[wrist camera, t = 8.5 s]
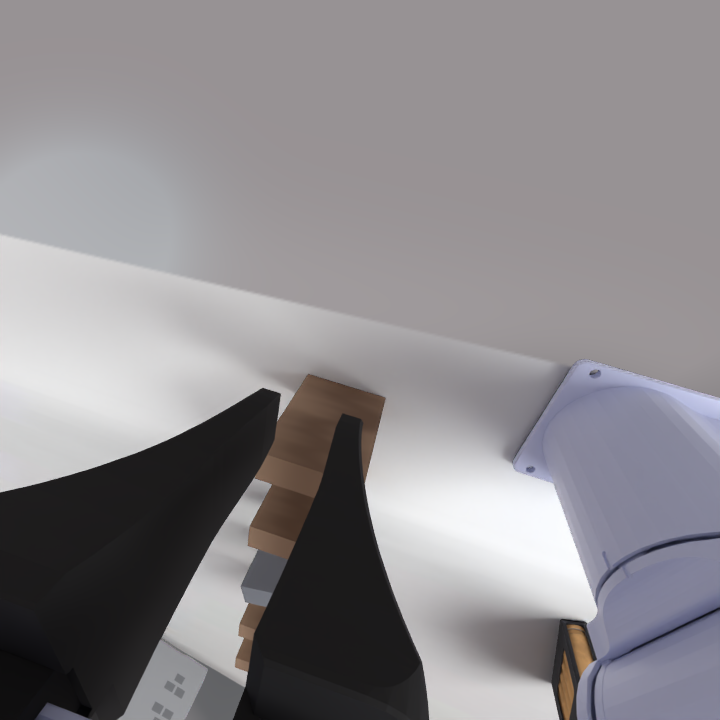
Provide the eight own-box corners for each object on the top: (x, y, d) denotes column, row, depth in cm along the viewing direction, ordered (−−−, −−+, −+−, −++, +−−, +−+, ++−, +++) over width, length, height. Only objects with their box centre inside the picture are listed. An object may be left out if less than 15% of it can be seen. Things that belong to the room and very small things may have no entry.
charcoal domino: (345, 506, 27) (318, 603, 21) (346, 521, 28) (320, 619, 22) (284, 496, 28) (240, 585, 22) (286, 511, 29) (245, 602, 23)
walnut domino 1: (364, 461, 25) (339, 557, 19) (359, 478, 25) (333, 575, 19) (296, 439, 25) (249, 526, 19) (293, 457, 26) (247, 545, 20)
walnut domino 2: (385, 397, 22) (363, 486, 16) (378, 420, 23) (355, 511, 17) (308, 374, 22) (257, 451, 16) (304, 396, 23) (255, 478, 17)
